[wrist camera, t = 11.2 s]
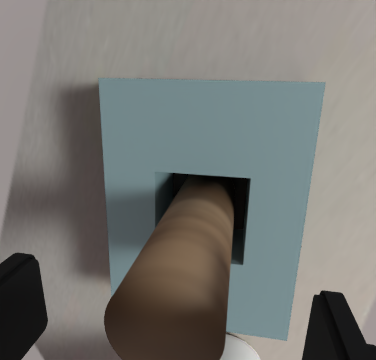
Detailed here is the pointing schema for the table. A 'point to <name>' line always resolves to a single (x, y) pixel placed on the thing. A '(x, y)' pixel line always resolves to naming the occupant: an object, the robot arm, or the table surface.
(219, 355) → the peg
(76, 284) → the table surface
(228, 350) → the water bottle
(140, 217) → the socket block
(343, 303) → the robot arm
